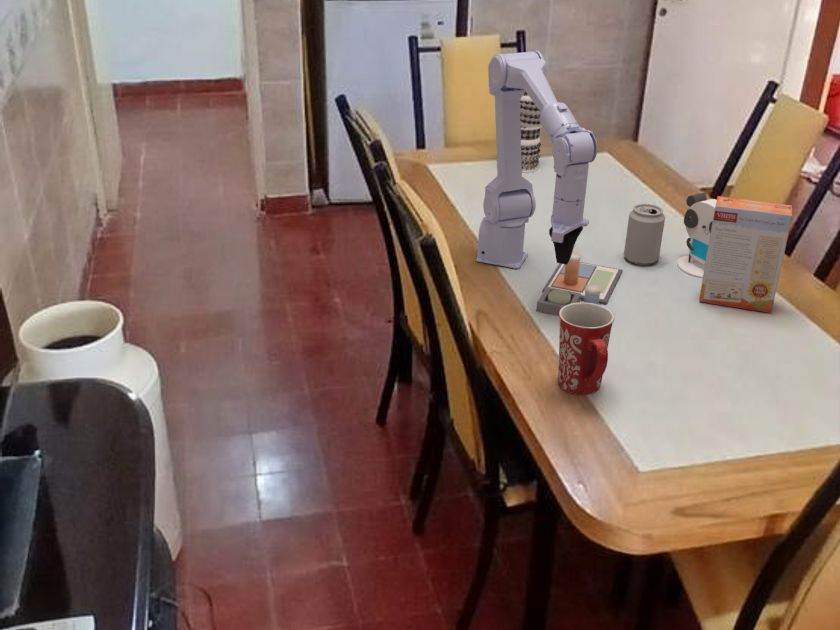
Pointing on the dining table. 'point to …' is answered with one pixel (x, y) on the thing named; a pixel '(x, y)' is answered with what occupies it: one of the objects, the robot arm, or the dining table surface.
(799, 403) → the dining table surface
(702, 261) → the panda figurine
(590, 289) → the slate blue marker
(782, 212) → the cracker box
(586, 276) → the colour zone board
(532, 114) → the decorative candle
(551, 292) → the button
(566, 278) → the terracotta marker
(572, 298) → the button collar
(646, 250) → the can
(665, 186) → the dining table surface
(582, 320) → the mug
